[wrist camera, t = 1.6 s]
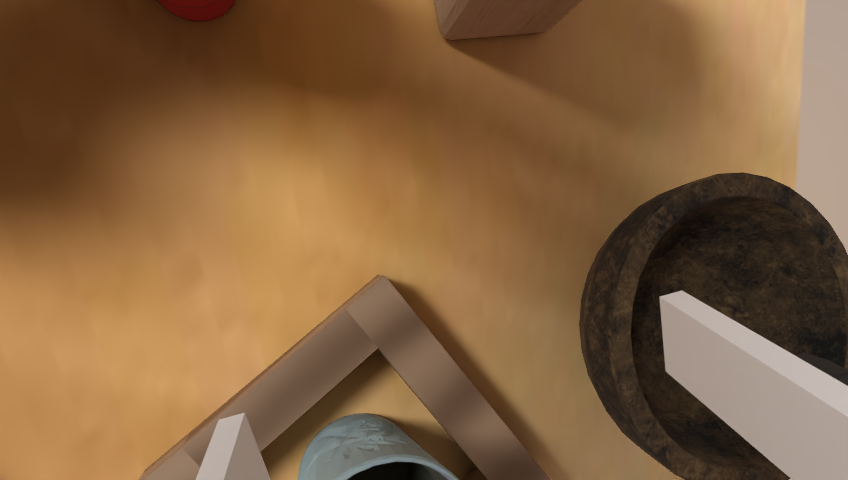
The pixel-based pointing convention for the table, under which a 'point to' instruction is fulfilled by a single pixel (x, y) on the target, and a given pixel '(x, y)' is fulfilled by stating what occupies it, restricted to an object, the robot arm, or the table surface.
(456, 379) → the well board
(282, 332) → the table surface
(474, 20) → the wooden block
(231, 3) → the plastic cup
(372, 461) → the grey-green cup
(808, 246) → the bowl
